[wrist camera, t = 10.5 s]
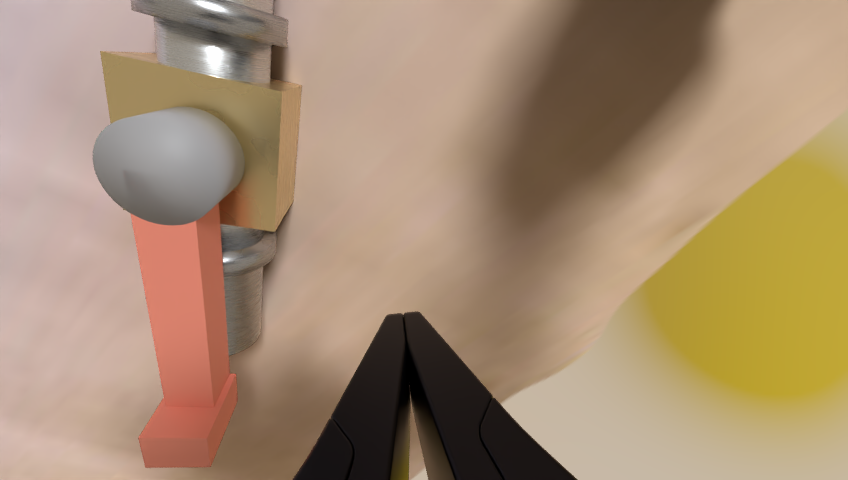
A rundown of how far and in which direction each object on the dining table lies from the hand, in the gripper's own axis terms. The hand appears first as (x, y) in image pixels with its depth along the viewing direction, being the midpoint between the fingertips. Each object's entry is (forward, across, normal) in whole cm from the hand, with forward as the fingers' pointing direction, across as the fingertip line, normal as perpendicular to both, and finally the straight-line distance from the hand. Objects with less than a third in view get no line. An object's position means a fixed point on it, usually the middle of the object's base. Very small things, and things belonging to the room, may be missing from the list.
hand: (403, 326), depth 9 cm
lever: (+8, +9, +2) cm, 12 cm away
